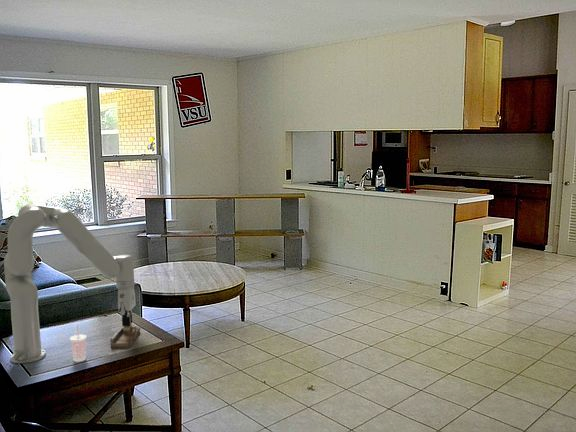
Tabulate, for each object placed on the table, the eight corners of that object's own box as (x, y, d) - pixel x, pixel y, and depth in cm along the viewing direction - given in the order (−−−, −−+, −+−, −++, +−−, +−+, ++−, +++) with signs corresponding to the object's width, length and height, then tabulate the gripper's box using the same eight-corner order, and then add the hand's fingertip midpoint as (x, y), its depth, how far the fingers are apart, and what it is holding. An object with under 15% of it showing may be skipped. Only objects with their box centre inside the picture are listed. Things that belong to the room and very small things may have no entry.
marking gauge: (135, 332, 230) (134, 314, 229) (123, 332, 230) (122, 314, 229) (137, 329, 234) (136, 311, 233) (126, 329, 234) (125, 311, 233)
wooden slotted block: (127, 347, 218) (127, 338, 218) (110, 348, 218) (110, 338, 218) (139, 332, 236) (139, 323, 236) (124, 332, 236) (123, 323, 236)
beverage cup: (67, 360, 206) (65, 325, 204) (81, 354, 212) (78, 321, 210) (78, 363, 203) (75, 328, 201) (91, 358, 209) (89, 323, 206)
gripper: (128, 288, 221) (130, 331, 223) (139, 278, 237) (141, 318, 239) (110, 288, 221) (112, 331, 223) (122, 278, 237) (124, 318, 239)
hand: (127, 324), depth 231 cm, fingers closed on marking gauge, 2 cm apart
